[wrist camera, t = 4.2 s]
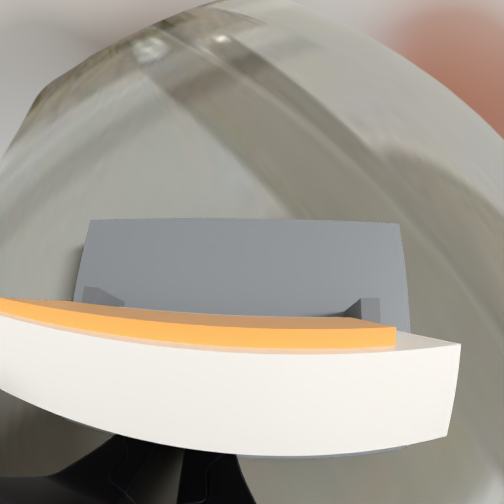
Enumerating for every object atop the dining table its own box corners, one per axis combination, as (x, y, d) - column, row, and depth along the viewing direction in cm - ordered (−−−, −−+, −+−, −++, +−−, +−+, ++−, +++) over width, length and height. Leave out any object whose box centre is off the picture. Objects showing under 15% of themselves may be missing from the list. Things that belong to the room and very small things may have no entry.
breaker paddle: (338, 352, 12) (446, 436, 3) (120, 340, 13) (-35, 369, 4) (340, 310, 13) (462, 324, 4) (121, 300, 13) (-38, 291, 4)
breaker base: (384, 436, 14) (432, 460, 8) (91, 414, 15) (31, 422, 10) (381, 246, 18) (418, 197, 13) (112, 240, 20) (67, 196, 14)
